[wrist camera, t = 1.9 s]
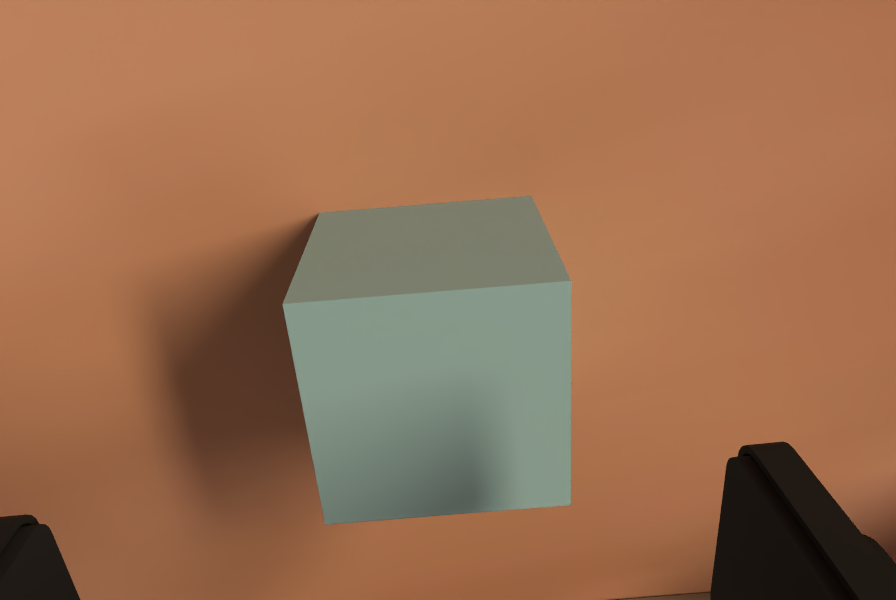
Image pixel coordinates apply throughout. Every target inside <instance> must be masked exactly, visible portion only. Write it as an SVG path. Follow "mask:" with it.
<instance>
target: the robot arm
mask: <svg viewBox="0 0 896 600" xmlns="http://www.w3.org/2000/svg"><path fill="white" fill-rule="evenodd" d="M0 600H80V598H79V596H78V593H77V591H76V589H75V586H74V584H73V581H72V579H71V577H70V574H69V572H68V570H67V567H66V565H65V562H64V560H63V558H62V555H61V553H60V551H59V548H58V546H57V544H56V541H55V539H54V536H53V534H52V532H51V530H50V528H49V527H48V526H47V525H45V524H39V523H38V521H37V519H36V518H34V517H33V516H32V515H17V516H7V517H0ZM710 600H896V564H895V563H894V561H893V560H892V559H891V558H890V556H889V555H888V554H887V553H886V551H885V550H884V549H883V548H882V547H881V546H880V545H879V544H878V543H877V542H876V541H875V540H874V539H872V538H870V537H868V536H866V535H864V534H861V532H860V531H859V530H858V529H857V527H856V526H855V525H854V524H853V522H852V521H851V520H850V519H849V517H848V516H847V515H846V514H845V512H844V511H843V510H842V509H841V507H840V506H839V505H838V504H837V502H836V501H835V500H834V499H833V497H832V496H831V495H830V494H829V492H828V491H827V490H826V489H825V487H824V486H823V485H822V484H821V482H820V481H819V480H818V479H817V477H816V476H815V475H814V474H813V472H812V471H811V470H810V468H809V467H808V466H807V465H806V463H805V462H804V461H803V460H802V458H801V457H800V456H799V455H798V453H797V452H796V451H795V450H794V448H793V447H792V446H790V445H789V444H788V443H786V442H775V443H765V444H754V445H745V446H742V447H741V449H740V450H739V453H738V457H732V458H729V460H728V462H727V466H726V474H725V482H724V490H723V498H722V506H721V514H720V522H719V529H718V537H717V545H716V553H715V561H714V569H713V577H712V585H711V593H710Z"/></svg>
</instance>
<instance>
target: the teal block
mask: <svg viewBox="0 0 896 600" xmlns="http://www.w3.org/2000/svg"><path fill="white" fill-rule="evenodd" d="M283 309H284V315H285V320H286V325H287V330H288V335H289V340H290V346H291V351H292V356H293V361H294V366H295V371H296V377H297V382H298V387H299V392H300V397H301V402H302V407H303V413H304V418H305V423H306V428H307V433H308V438H309V444H310V449H311V454H312V459H313V464H314V469H315V474H316V480H317V485H318V490H319V495H320V500H321V505H322V511H323V516H324V521H325V525H328V524H341V523H353V522H366V521H378V520H391V519H403V518H416V517H428V516H440V515H453V514H465V513H478V512H490V511H503V510H515V509H528V508H540V507H553V506H565V505H571V279H570V277H569V275H568V273H567V271H566V268H565V266H564V264H563V262H562V260H561V258H560V256H559V254H558V251H557V249H556V247H555V245H554V243H553V241H552V239H551V237H550V234H549V232H548V230H547V228H546V226H545V224H544V222H543V220H542V217H541V215H540V213H539V211H538V209H537V207H536V205H535V203H534V200H533V198H532V196H523V197H510V198H498V199H486V200H473V201H461V202H448V203H436V204H423V205H411V206H399V207H386V208H374V209H361V210H349V211H337V212H324V213H319V215H318V218H317V220H316V223H315V225H314V228H313V230H312V233H311V235H310V237H309V240H308V242H307V245H306V247H305V250H304V252H303V255H302V257H301V260H300V262H299V265H298V267H297V269H296V272H295V274H294V277H293V279H292V282H291V284H290V287H289V289H288V292H287V294H286V297H285V299H284V301H283Z"/></svg>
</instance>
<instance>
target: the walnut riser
mask: <svg viewBox="0 0 896 600" xmlns="http://www.w3.org/2000/svg"><path fill="white" fill-rule="evenodd" d="M710 593H711V592H708V593H696V594H683V595H671V596H658V597H646V598H633V599H621V600H710Z"/></svg>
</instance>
